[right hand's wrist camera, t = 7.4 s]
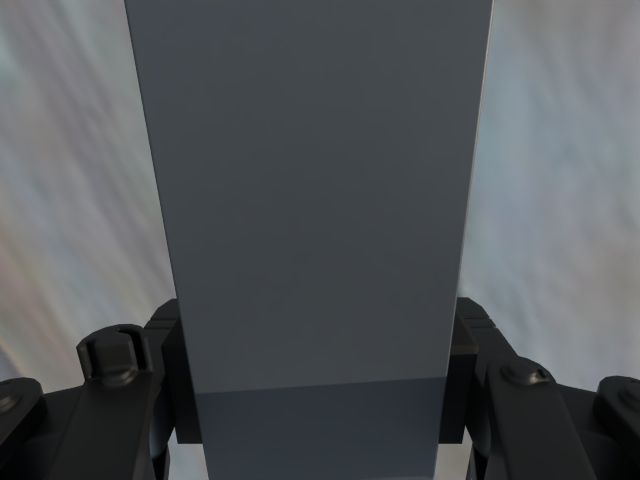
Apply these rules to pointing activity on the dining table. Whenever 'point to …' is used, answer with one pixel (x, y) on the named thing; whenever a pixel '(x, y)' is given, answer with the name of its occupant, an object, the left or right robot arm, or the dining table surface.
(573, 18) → the dining table surface
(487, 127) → the dining table surface
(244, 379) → the beam
